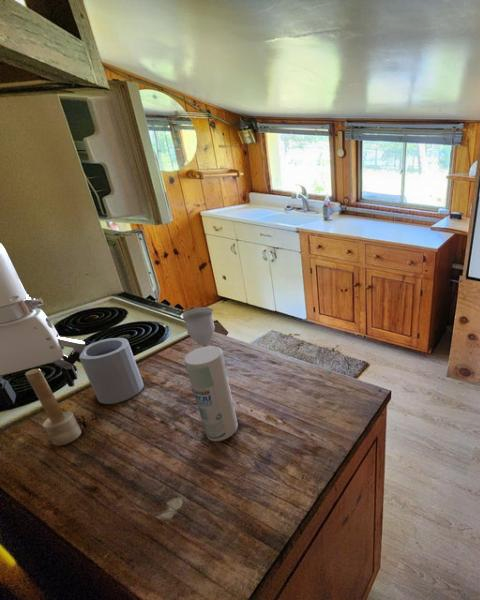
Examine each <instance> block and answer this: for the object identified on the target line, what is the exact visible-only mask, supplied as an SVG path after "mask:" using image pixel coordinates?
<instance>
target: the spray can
mask: <svg viewBox="0 0 480 600" xmlns="http://www.w3.org/2000/svg"><path fill="white" fill-rule="evenodd" d="M183 363H184V365H185V369H186V372H187V376H188V379H189V382H190V385H191V389H192V392H193V396H194V399H195V402H196V405H197V409H198V412H199V415H200V419H201V422H202V425H203V429H204V433H205V435H206V437H207V439H208V440H209V441H212V442H221V441H224V440H227V439H229V438H230V437H232V436H233V435H234V434H235V433H236V432H237V430H238V425H239V424H238V423H239V422H238V419H237V414H236V409H235V404H234V401H233V400H234V399H233V396H232V391H231V387H230V382H229V378H228V373H227V368H226V363H225V358H224V354H223V350H222V349H221V348H220V347H218V346H215V345H208V346H206V347H203V346H201V347H198V348H194V349H193V350H191V351H189V352H188V353H186V355H185V356H184V358H183Z"/></svg>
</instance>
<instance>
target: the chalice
mask: <svg viewBox="0 0 480 600" xmlns="http://www.w3.org/2000/svg"><path fill="white" fill-rule="evenodd" d="M213 313H214V308H212V307H208V306H201V307H194V308H191V309H188V310H186V311H184V312H183V313H181V315H180V318H181V319H182V320H183V321H184V325H185V328H186V332H187V334H188V336H189V337H190V338H191V339H192V340H193V341H194V342H195V343H196V344H197V345H199V346H202V347H206V346H209V344H210V343H212V339H213V337H214V333H215V328H216V326H215V321H214V318H213Z"/></svg>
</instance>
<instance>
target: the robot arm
mask: <svg viewBox="0 0 480 600" xmlns="http://www.w3.org/2000/svg"><path fill="white" fill-rule="evenodd" d="M39 306H40V307H41V306H44V300H43V299H42V297H38V298H34V297H33V298H32V297H31V296H30V295H29V294H27V291H26V289H25V288H24V285H23V283H22V281H21V279H20V276H19V275H18V273H17V270H16V268H15V267H14V264H13V262H12V260H11V259H10V256H9V254H8V252H7V250H6V248H5V246H4V245H3V244H2V243H1V242H0V402H3V401H4V402H5V403H6V405H7V406H8V407H9V406H12V405H14V404H15V402H16V398H17V394H16V392H15V391H14V389H13V387H12V385H11V384H10V382H9V380H8V379H6V378H3V377H4V376H6V375H10V374H14V373H17V372H20V371H21V372H22V371H25V370H28V369H34V368H37V367H40V366H43V365H47V364H51V363H52V364H54V365H56V366H58V367H60V368H61V373H62V375H63V377H64V380H65V382H66V383H67V386H68V387H70V388H72V387H74V386H75V380H78V377H79V376H78V374H77V371H76V369H75V368H74V365H75V363H76V362H77V361H78V360H79V357H80V355H81V353H82V351H83V350H84V348H85V347H86V342H85V341H83V340H80V339H79V340H78V339H73V338H67V337H62V336H60V335H59V333H58V331H57V329H56V327H55V326H54V324H53V323H52V321H51V320H50V318H49V317H48V316H47V314H46V313H45V312H44V311H43V310H42V309H41V308H38V307H39ZM65 348H72V349H73V350H72V351H71V352H70V353H69V355H67V354H64V352H63V350H64V349H65Z"/></svg>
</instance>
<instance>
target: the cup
mask: <svg viewBox="0 0 480 600" xmlns="http://www.w3.org/2000/svg"><path fill="white" fill-rule="evenodd" d="M78 360H79V362H80V364H81V366H82V368H83V371H84V372H85V374H86V375H85V376H86V377H87V380H88V381H89V383H90V386H91V388H92V390H93V393H94V395H95V397H96V399H97V401H98V402H99V403H100V404H104V405H112V404H118V403H121V402H124V401H127V400H129V399H131V398H133V397H135V396H136V395H139V393H141V391H142V390H143V388H144V381H143V378H142V376H141V373H140V369H139V368H138V364H137V362H136V359H135V356H134V354H133V351H132V348H131V345H130V343H129V340H128V339H127V338H124V337H111V338H110V337H109V338H105V339H100V340H98V341H94V342H92V343H90V344H88V345H85V348H84V350H83V351H82V353H81V355H80V357H79V358H78Z"/></svg>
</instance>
